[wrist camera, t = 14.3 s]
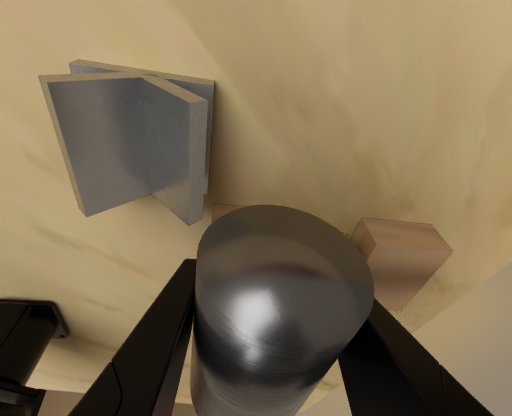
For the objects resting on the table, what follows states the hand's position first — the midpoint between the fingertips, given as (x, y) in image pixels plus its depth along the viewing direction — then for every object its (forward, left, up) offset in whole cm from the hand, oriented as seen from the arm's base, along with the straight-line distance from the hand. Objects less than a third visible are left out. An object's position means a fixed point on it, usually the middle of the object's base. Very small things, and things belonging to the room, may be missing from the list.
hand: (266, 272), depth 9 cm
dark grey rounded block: (-2, 0, -1) cm, 2 cm away
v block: (0, +6, -11) cm, 12 cm away
